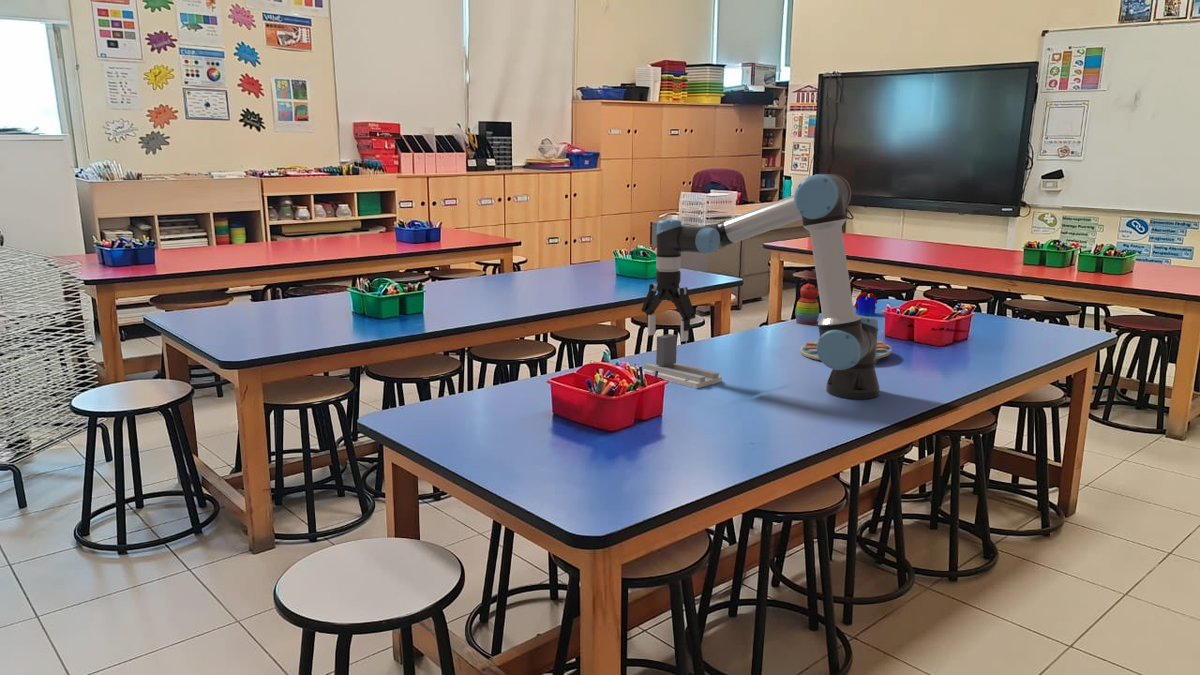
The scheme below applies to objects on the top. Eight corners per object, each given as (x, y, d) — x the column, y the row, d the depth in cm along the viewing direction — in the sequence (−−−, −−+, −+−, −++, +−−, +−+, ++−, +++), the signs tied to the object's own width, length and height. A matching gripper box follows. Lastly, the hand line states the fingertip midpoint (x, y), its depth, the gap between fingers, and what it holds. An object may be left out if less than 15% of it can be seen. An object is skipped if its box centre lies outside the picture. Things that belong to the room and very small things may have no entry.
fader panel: (721, 381, 267) (722, 372, 266) (696, 388, 258) (696, 378, 258) (665, 368, 283) (665, 359, 282) (640, 374, 274) (640, 365, 274)
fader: (675, 368, 275) (676, 335, 273) (663, 371, 271) (664, 338, 269) (668, 366, 277) (669, 333, 275) (656, 369, 273) (656, 336, 271)
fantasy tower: (873, 317, 374) (875, 290, 372) (883, 322, 363) (885, 294, 360) (846, 317, 374) (848, 290, 371) (855, 322, 362) (857, 294, 360)
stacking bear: (818, 331, 344) (821, 286, 340) (792, 329, 347) (794, 285, 344) (821, 326, 354) (824, 283, 350) (796, 324, 357) (798, 281, 354)
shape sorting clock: (799, 345, 319) (799, 329, 318) (885, 350, 313) (887, 333, 312) (800, 365, 290) (801, 347, 289) (896, 370, 284) (897, 352, 283)
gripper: (707, 272, 262) (706, 341, 266) (647, 265, 279) (646, 330, 283) (691, 274, 257) (690, 345, 261) (630, 267, 274) (630, 333, 278)
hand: (667, 337), depth 272 cm, fingers open, 13 cm apart
